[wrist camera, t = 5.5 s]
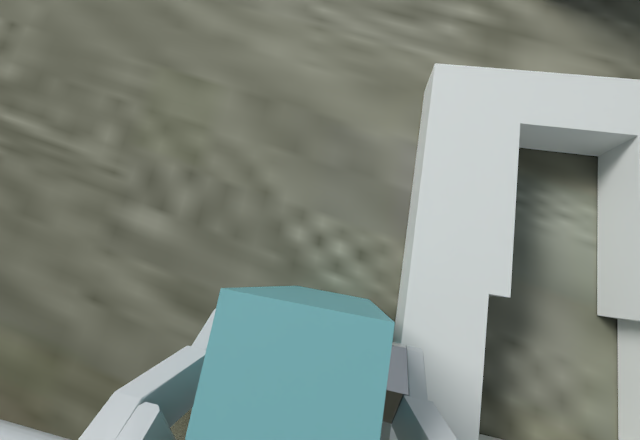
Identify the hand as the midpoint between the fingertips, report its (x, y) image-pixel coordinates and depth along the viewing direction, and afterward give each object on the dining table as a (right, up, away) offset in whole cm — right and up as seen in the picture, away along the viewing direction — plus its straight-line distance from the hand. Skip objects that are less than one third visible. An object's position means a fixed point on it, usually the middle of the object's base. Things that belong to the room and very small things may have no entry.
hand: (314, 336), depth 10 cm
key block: (+1, -2, +6) cm, 6 cm away
